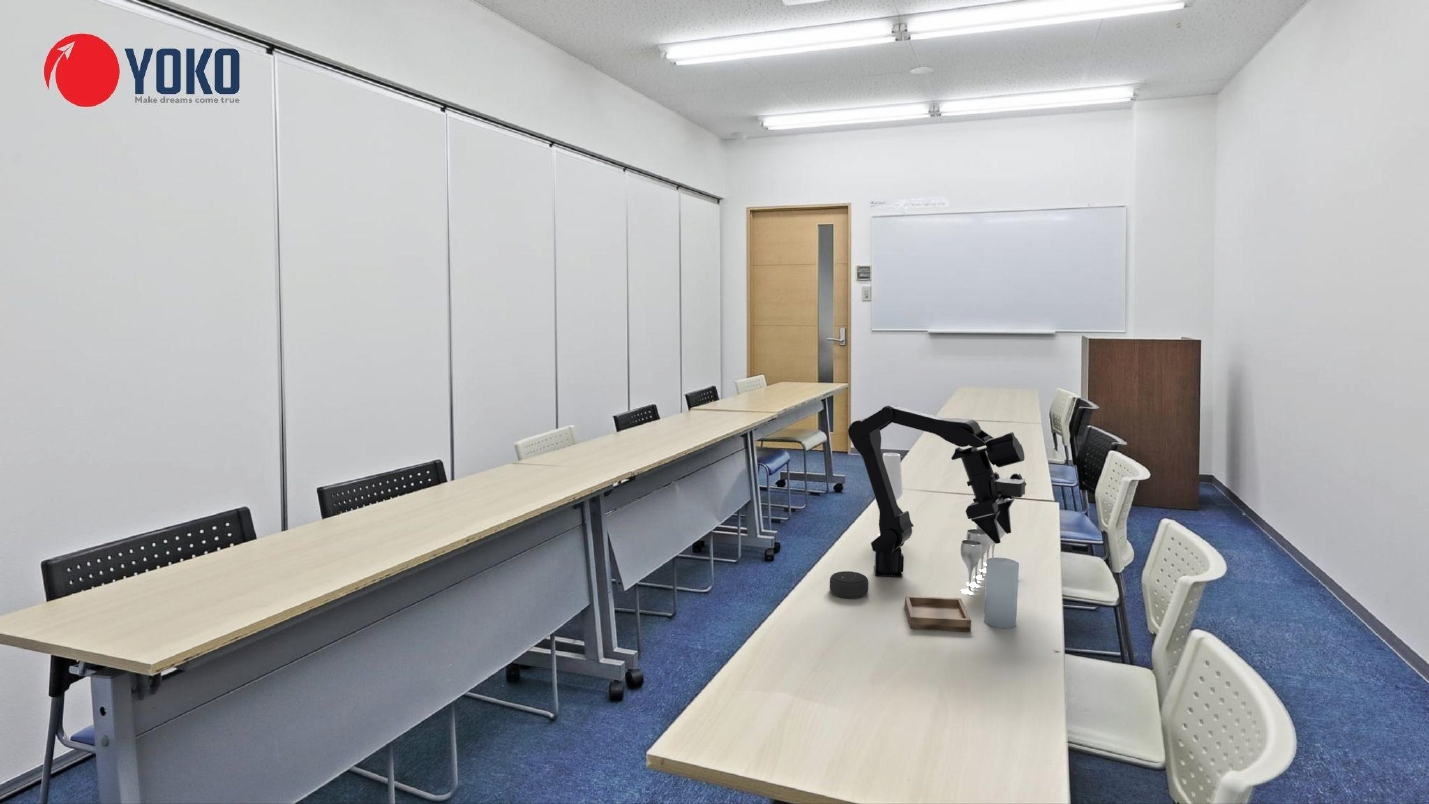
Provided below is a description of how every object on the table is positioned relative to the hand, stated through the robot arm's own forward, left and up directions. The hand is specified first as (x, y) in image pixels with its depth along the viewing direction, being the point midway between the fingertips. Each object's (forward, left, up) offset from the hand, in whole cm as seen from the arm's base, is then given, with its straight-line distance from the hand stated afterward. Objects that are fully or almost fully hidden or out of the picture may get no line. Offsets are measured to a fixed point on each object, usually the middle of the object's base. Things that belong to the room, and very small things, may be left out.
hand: (1003, 538), depth 176 cm
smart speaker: (-35, -3, -14) cm, 37 cm away
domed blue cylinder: (-4, -16, -14) cm, 21 cm away
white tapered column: (-22, +44, -14) cm, 51 cm away
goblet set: (-2, +12, -14) cm, 19 cm away
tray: (-17, -16, -14) cm, 27 cm away
